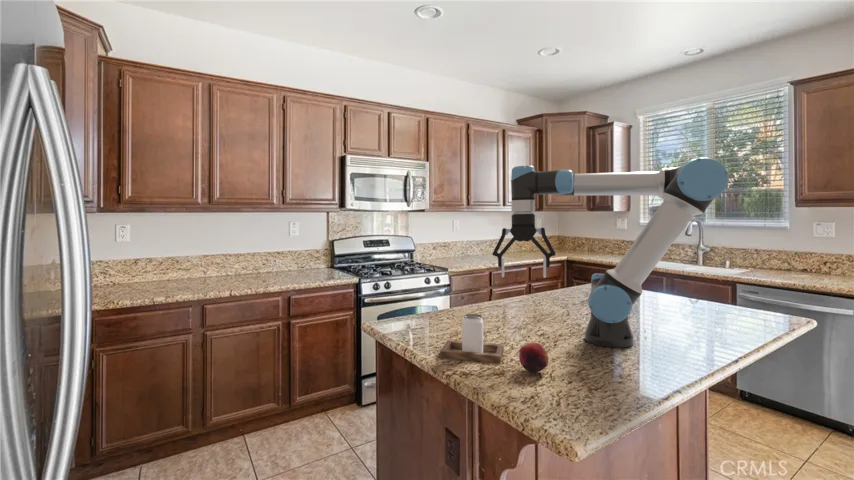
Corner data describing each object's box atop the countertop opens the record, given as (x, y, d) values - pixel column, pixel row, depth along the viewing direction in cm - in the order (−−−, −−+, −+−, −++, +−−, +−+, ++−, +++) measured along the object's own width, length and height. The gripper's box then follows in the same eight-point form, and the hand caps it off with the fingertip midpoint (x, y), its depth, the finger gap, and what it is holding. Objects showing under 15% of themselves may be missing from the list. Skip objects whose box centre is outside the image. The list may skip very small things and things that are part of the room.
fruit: (547, 368, 115) (547, 340, 115) (549, 378, 108) (549, 349, 107) (519, 366, 117) (519, 338, 116) (518, 376, 109) (519, 347, 109)
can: (482, 358, 123) (482, 319, 122) (460, 357, 124) (461, 318, 124) (483, 351, 129) (484, 314, 129) (463, 350, 131) (463, 313, 130)
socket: (503, 350, 130) (503, 344, 130) (500, 362, 119) (500, 356, 119) (447, 346, 134) (447, 340, 134) (440, 357, 124) (440, 351, 124)
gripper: (561, 212, 136) (561, 275, 138) (486, 214, 142) (487, 274, 143) (563, 212, 129) (563, 279, 130) (484, 214, 135) (485, 278, 136)
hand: (523, 277), depth 137 cm, fingers open, 13 cm apart
